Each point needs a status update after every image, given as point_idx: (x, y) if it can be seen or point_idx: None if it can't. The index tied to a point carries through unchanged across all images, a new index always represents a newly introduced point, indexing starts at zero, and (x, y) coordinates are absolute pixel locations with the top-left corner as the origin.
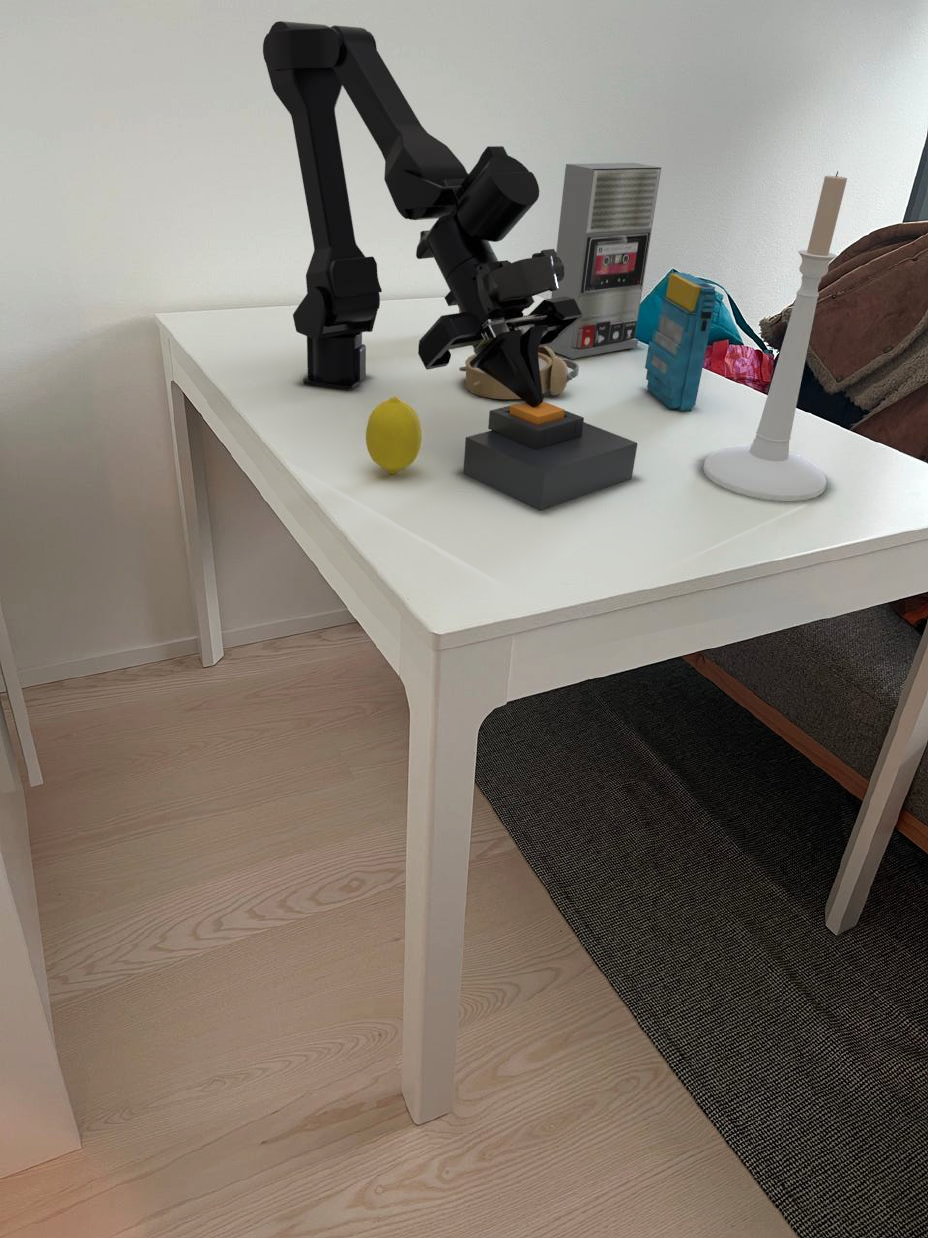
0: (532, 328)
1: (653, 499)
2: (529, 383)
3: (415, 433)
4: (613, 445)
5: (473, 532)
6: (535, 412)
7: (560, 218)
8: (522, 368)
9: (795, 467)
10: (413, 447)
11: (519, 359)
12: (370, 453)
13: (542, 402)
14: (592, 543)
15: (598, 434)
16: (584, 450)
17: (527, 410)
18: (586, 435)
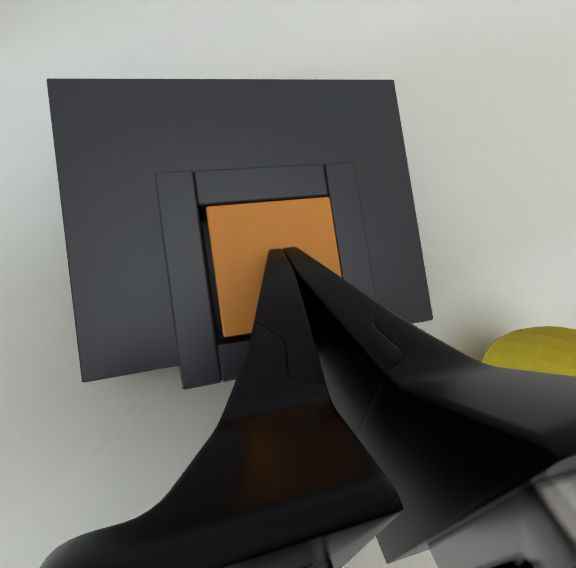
0: (369, 490)
1: (130, 47)
2: (331, 276)
3: (559, 335)
4: (133, 100)
5: (479, 131)
6: (315, 227)
7: None
8: (372, 313)
9: None
10: (535, 328)
11: (395, 347)
12: None
13: (231, 296)
14: (353, 6)
15: (107, 181)
16: (231, 118)
17: (327, 253)
18: (148, 192)
